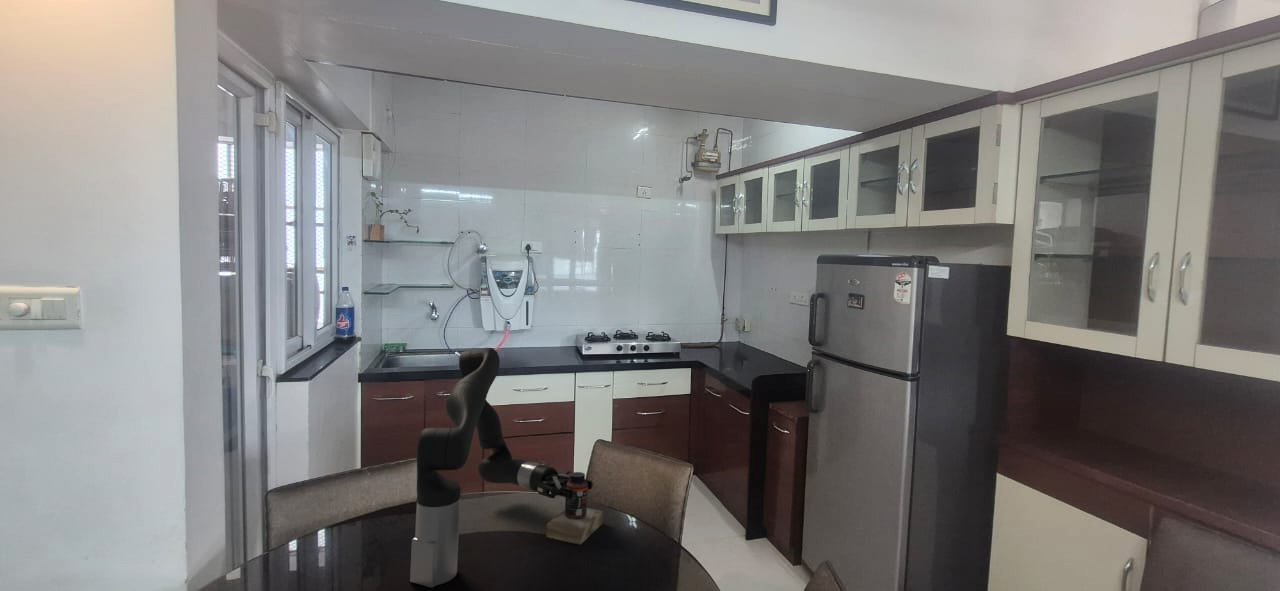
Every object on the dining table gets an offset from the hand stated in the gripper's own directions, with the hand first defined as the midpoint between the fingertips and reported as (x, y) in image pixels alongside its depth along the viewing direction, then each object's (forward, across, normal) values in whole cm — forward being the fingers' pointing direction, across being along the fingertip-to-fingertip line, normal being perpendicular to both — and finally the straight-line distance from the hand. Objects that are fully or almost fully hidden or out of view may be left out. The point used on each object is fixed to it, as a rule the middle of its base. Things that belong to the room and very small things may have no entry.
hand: (582, 489), depth 145 cm
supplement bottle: (-2, 0, +8) cm, 8 cm away
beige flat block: (-2, 0, +12) cm, 12 cm away
